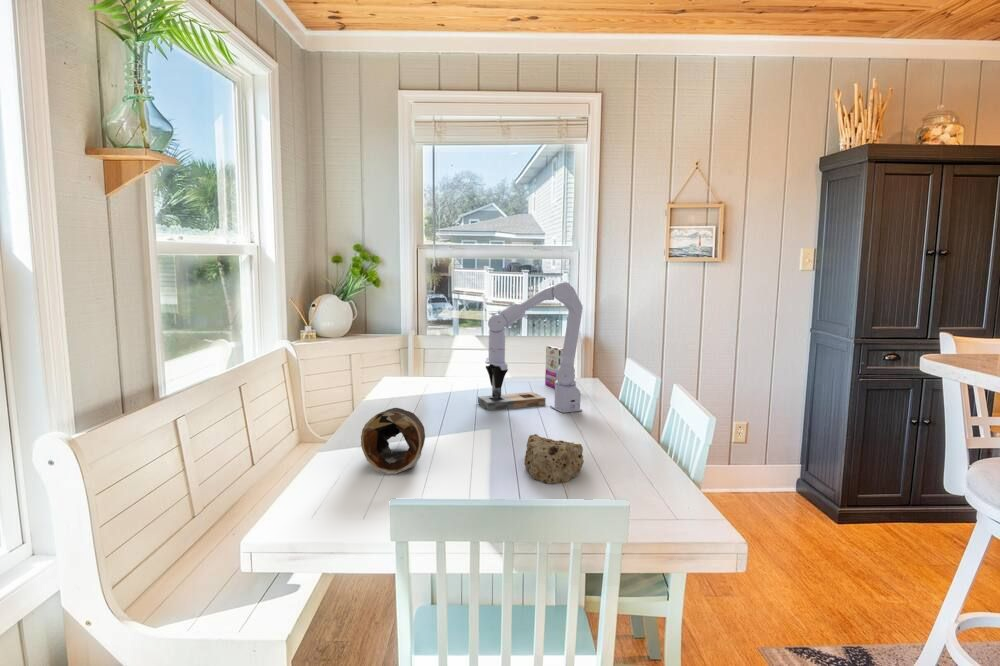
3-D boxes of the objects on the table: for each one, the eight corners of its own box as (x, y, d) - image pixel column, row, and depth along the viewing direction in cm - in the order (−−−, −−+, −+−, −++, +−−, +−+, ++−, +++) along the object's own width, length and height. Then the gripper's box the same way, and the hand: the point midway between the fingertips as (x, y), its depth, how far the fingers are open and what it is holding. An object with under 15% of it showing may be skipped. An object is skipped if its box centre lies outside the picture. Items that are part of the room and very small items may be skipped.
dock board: (545, 404, 213) (545, 398, 213) (488, 410, 204) (488, 403, 204) (533, 398, 222) (533, 392, 222) (477, 403, 214) (477, 396, 213)
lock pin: (502, 396, 210) (502, 374, 209) (494, 397, 209) (494, 375, 208) (498, 395, 213) (499, 372, 212) (490, 395, 211) (491, 373, 210)
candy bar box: (569, 389, 239) (570, 348, 237) (558, 390, 237) (559, 349, 235) (555, 383, 249) (556, 344, 247) (544, 384, 247) (545, 345, 245)
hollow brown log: (427, 400, 168) (418, 406, 143) (434, 455, 167) (426, 470, 142) (374, 407, 168) (356, 414, 143) (381, 462, 167) (364, 478, 142)
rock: (517, 460, 158) (527, 423, 158) (570, 472, 159) (579, 436, 158) (523, 480, 137) (534, 438, 137) (584, 495, 138) (594, 453, 138)
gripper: (478, 346, 213) (478, 383, 215) (494, 352, 200) (493, 391, 202) (496, 345, 216) (496, 382, 218) (513, 351, 203) (512, 390, 205)
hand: (496, 386), depth 210 cm, fingers closed on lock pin, 3 cm apart
